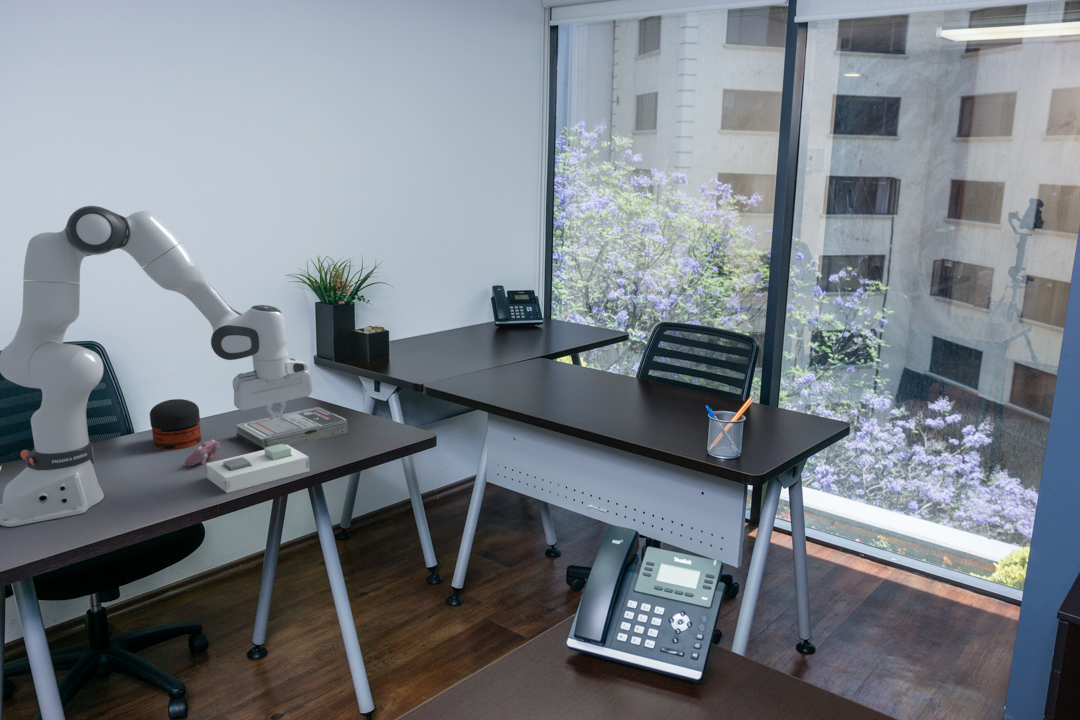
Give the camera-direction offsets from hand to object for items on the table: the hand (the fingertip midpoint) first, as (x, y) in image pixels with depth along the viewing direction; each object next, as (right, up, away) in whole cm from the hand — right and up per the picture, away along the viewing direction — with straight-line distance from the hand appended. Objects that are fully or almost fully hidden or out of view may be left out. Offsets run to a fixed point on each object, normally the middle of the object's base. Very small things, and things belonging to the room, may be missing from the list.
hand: (276, 418), depth 211 cm
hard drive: (-5, -8, +31) cm, 32 cm away
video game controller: (-22, -13, +9) cm, 27 cm away
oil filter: (-36, -9, +23) cm, 44 cm away
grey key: (-8, -14, -5) cm, 17 cm away
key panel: (-4, -15, -1) cm, 15 cm away
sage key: (0, -11, +2) cm, 11 cm away
